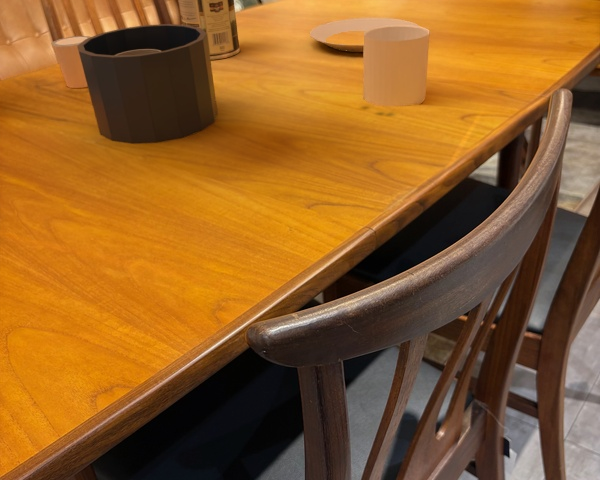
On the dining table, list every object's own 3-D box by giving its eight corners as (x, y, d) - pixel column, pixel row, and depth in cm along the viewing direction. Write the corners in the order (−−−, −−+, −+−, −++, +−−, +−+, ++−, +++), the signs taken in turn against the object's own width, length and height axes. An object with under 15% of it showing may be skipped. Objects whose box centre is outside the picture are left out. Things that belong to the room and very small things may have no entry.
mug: (415, 112, 85) (419, 42, 80) (354, 106, 89) (354, 39, 83) (437, 86, 94) (442, 21, 88) (381, 81, 97) (382, 18, 92)
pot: (75, 139, 84) (50, 52, 78) (146, 100, 96) (130, 22, 90) (175, 153, 78) (158, 60, 72) (238, 110, 90) (228, 27, 84)
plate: (391, 24, 127) (391, 12, 126) (440, 47, 111) (441, 34, 110) (296, 38, 123) (295, 26, 121) (333, 64, 106) (333, 51, 105)
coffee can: (211, 43, 123) (201, -36, 114) (251, 49, 118) (242, -34, 109) (174, 56, 116) (160, -27, 108) (214, 63, 111) (203, -24, 103)
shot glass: (109, 83, 105) (99, 40, 101) (69, 92, 102) (57, 48, 98) (95, 74, 110) (85, 33, 105) (57, 82, 107) (45, 40, 103)
